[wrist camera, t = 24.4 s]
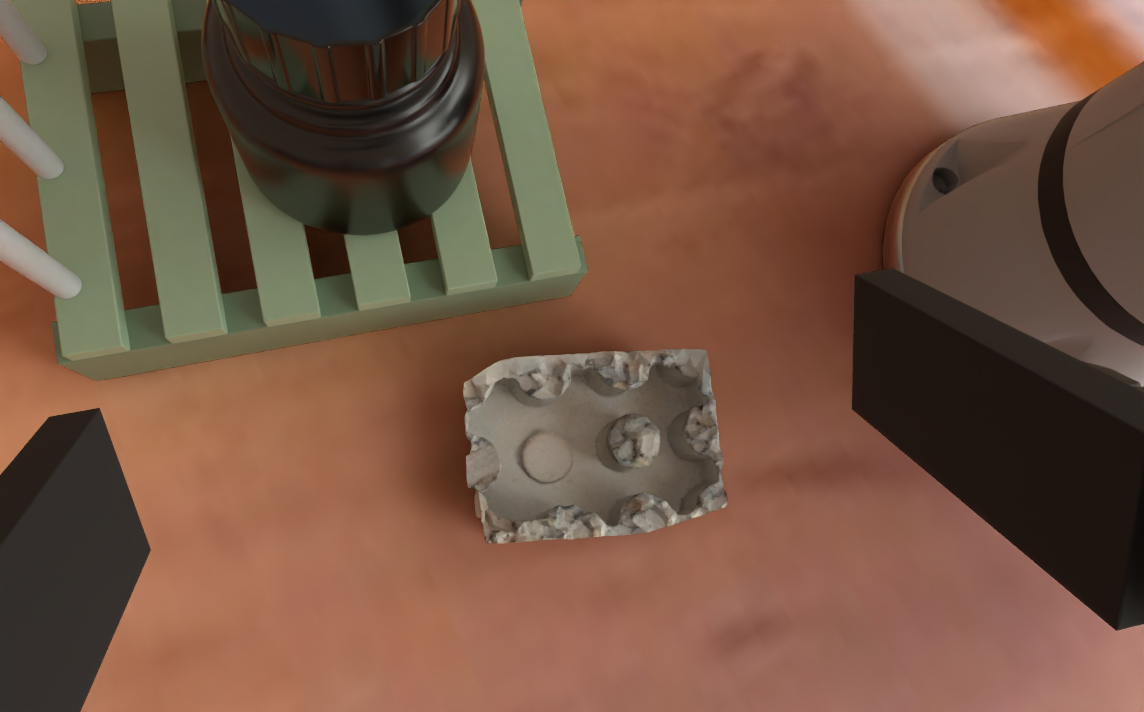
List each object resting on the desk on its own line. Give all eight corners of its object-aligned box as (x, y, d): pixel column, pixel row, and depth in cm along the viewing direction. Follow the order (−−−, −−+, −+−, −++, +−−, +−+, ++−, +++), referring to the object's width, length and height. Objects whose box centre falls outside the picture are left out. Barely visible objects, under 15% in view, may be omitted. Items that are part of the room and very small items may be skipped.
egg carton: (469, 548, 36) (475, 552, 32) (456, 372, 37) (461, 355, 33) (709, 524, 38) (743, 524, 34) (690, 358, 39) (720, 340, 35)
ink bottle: (478, 32, 35) (511, -209, 23) (489, 239, 34) (531, 90, 22) (226, 23, 33) (128, -244, 22) (226, 241, 32) (119, 80, 20)
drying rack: (506, 16, 41) (544, -183, 29) (571, 296, 39) (639, 201, 27) (49, 63, 37) (-118, -148, 25) (96, 381, 35) (-62, 312, 23)
